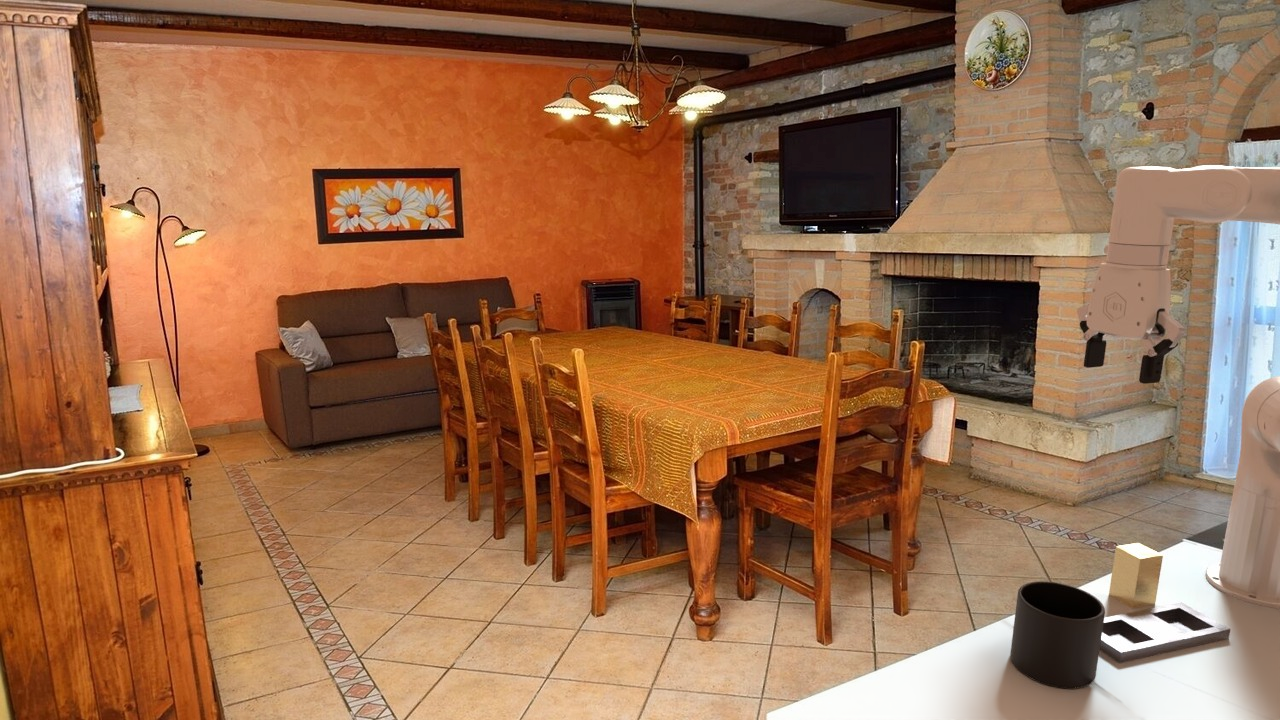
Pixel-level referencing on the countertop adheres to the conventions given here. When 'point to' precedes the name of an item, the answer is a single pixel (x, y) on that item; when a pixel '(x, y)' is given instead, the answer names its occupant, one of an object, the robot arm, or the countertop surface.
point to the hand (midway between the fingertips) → (1120, 374)
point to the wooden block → (1135, 575)
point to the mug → (1057, 634)
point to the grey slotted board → (1158, 632)
